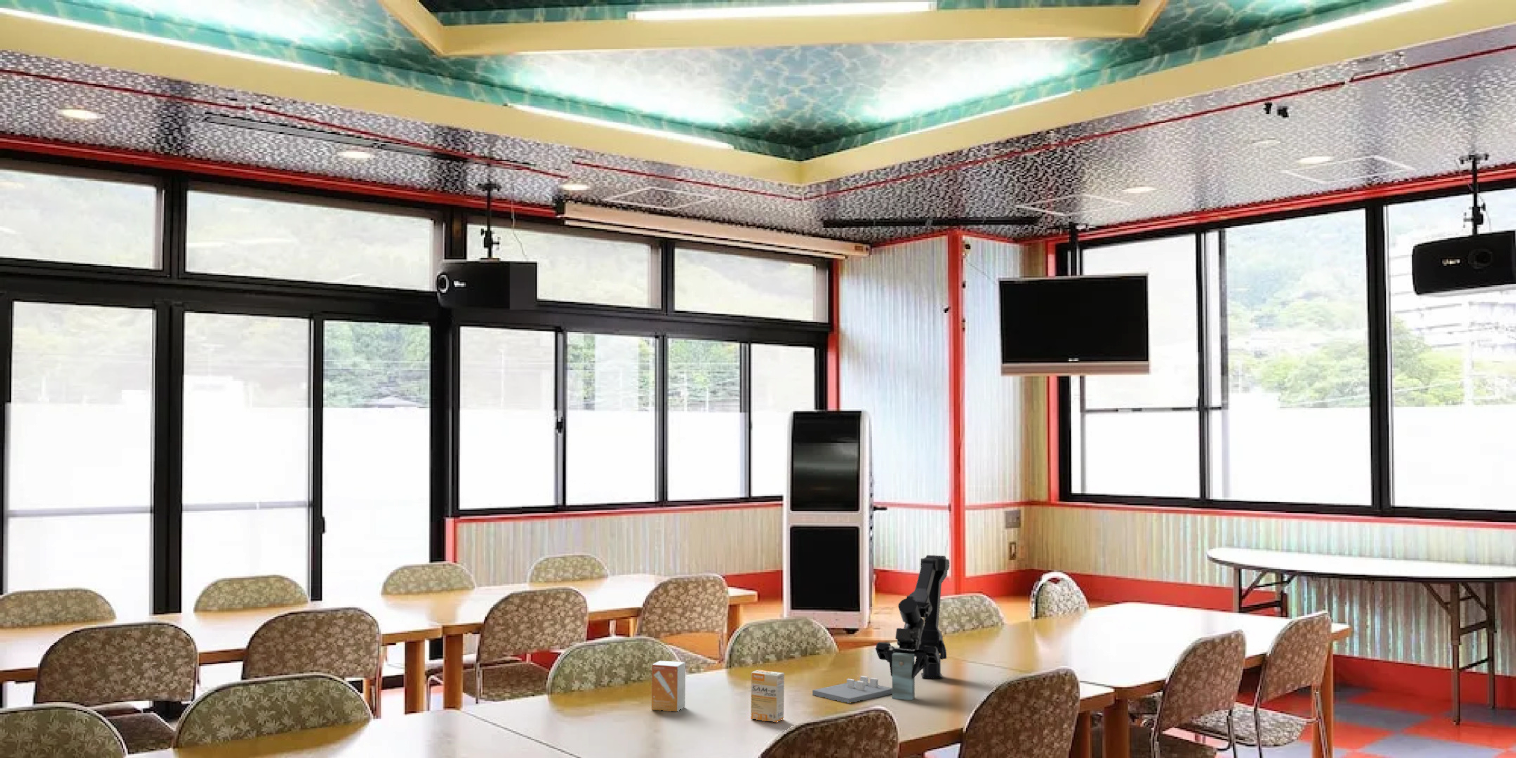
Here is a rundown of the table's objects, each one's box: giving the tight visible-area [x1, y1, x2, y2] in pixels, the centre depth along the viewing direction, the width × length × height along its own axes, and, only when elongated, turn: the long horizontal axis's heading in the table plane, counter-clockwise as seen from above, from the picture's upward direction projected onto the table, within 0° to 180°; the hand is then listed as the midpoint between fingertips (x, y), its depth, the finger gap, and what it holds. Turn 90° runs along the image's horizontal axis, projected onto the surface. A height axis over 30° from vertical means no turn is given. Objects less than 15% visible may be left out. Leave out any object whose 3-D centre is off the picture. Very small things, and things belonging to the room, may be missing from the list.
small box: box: [651, 660, 686, 712], centre depth 334 cm, size 8×6×13 cm
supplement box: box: [750, 669, 785, 723], centre depth 321 cm, size 8×5×13 cm, turn 62°
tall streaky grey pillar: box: [891, 653, 916, 701], centre depth 347 cm, size 4×6×13 cm, turn 66°
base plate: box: [812, 675, 892, 704], centre depth 352 cm, size 20×15×4 cm
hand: (901, 676), depth 346 cm, fingers closed on tall streaky grey pillar, 6 cm apart
